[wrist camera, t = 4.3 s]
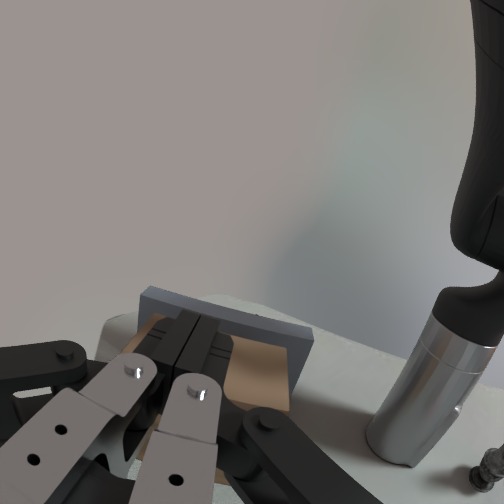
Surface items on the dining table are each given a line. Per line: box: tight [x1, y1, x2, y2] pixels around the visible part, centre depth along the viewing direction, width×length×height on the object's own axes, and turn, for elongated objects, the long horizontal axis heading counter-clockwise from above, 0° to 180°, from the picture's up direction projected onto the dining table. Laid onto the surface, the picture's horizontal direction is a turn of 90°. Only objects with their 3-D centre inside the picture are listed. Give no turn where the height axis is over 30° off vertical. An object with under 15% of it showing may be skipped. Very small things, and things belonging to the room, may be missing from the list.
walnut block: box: [119, 313, 290, 486], centre depth 22 cm, size 8×12×12 cm, turn 86°
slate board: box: [137, 286, 314, 398], centre depth 33 cm, size 3×20×10 cm, turn 86°
